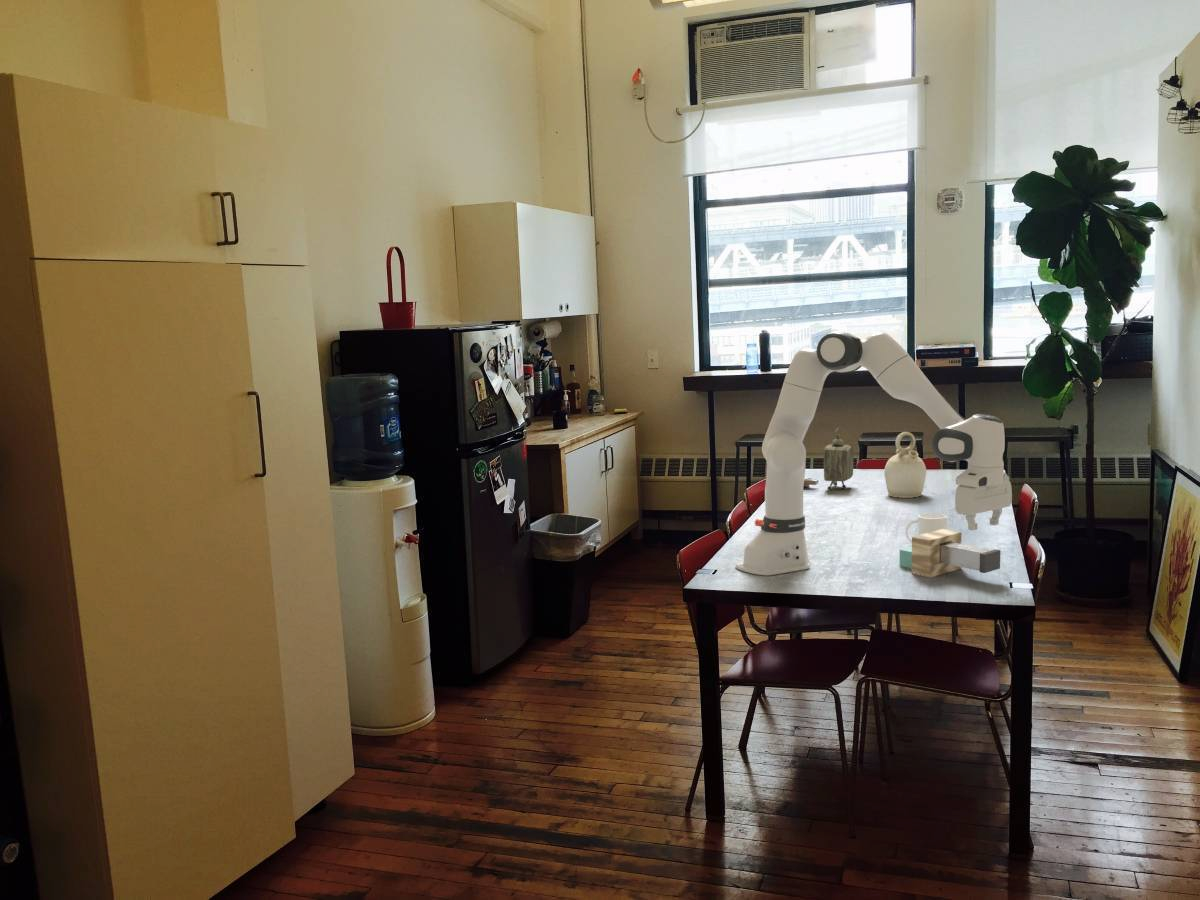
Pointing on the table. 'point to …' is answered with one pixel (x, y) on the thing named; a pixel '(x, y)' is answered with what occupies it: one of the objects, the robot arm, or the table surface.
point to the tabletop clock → (838, 462)
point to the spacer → (906, 557)
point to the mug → (929, 523)
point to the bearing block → (932, 552)
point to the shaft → (970, 556)
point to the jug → (905, 471)
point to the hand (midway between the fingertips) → (983, 527)
